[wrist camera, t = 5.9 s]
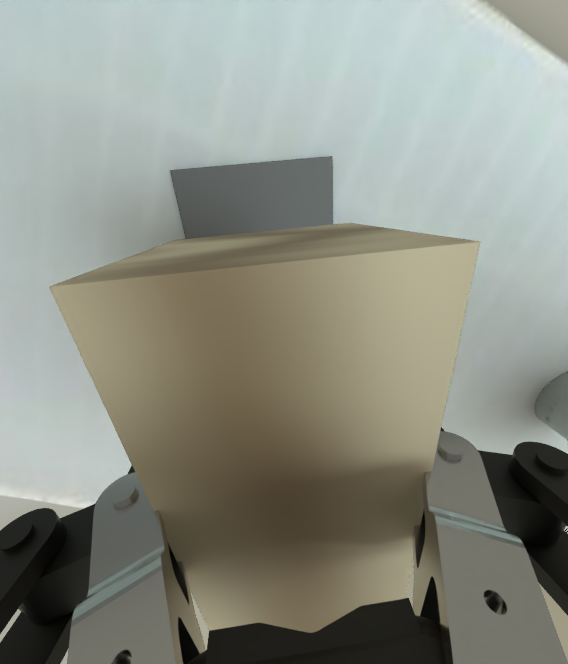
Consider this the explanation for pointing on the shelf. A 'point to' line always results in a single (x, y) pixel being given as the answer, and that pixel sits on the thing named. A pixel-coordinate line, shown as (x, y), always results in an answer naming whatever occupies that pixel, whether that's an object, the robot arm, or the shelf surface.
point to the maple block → (280, 405)
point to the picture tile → (255, 197)
